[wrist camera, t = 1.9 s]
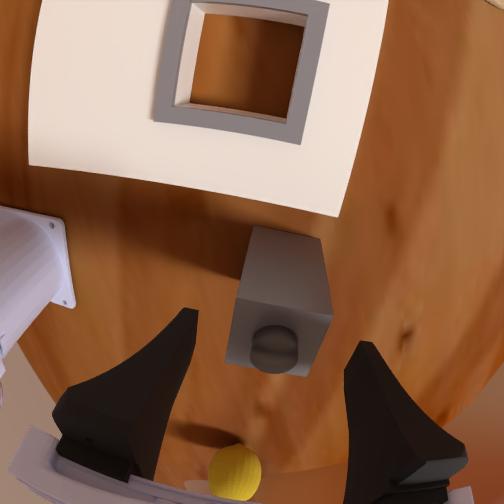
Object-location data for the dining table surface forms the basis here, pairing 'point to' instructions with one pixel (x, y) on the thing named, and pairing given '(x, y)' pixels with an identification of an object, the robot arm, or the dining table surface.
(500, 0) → the hand bell
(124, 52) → the socket board
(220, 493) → the lemon
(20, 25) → the dining table surface
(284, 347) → the plug
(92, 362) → the dining table surface
